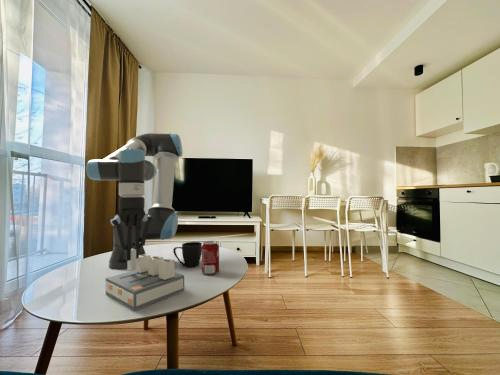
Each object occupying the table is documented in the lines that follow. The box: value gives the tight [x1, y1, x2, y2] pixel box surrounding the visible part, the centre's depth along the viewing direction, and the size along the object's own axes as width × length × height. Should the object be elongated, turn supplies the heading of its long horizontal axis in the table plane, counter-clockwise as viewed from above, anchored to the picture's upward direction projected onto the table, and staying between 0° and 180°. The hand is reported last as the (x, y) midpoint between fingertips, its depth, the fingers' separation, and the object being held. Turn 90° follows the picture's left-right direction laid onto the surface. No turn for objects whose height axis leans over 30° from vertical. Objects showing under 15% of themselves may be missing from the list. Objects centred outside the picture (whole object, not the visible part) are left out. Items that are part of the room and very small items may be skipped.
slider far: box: [136, 253, 151, 273], centre depth 80 cm, size 3×4×5 cm
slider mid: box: [148, 255, 164, 276], centre depth 77 cm, size 3×4×5 cm
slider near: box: [159, 258, 175, 280], centre depth 74 cm, size 3×4×5 cm
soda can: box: [201, 240, 220, 276], centre depth 94 cm, size 7×7×12 cm
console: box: [105, 270, 185, 311], centre depth 75 cm, size 18×16×5 cm
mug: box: [172, 241, 203, 269], centre depth 102 cm, size 8×12×10 cm
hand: (131, 269), depth 77 cm, fingers closed
